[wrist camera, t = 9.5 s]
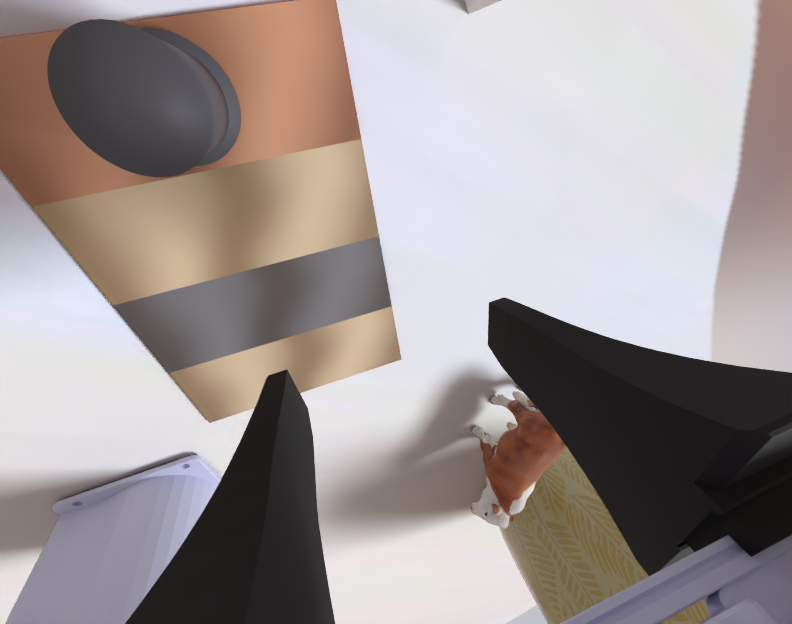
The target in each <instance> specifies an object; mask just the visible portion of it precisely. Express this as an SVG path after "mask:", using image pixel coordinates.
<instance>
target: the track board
mask: <svg viewBox="0 0 792 624" xmlns="http://www.w3.org/2000/svg"><path fill="white" fill-rule="evenodd" d="M122 23H126V24H128V25H131V26H134V27H136V28H139V29H141V28H156V29H162V30H166V31H170V32H173V33H176V34H178V35H180V36H182V37H184V38H186V39H188V40H190V41H191V42H193V43H194V44H196V45H198V46H199V47H201V48H202V49H203V50H204V51H206V52H207V53H208V54H209V55H210V56H211V57H212V58H213V59H214V60H215V61H216V62H217V63H218V64H219V65H220V67H221V68H222V69H223V70H224V72H225V73H226V75H227V76H228V78H229V80H230V81H231V83H232V85H233V87H234V90H235V92H236V94H237V98H238V101H239V105H240V110H241V127H240V132H239V135H238V138H237V140H236V142H235V144H234V146H233V147H232V148H231V150H230V151H229V152H228V153H227V154H226V155H225V156H224V157H222V158H221V159H219V160H218V161H216V162H213V163H211V164H208V165H203V166H195V167H193V168H192V169H190V170H189V171H187V172H184V173H182V174H179V175H176V176H170V177H149V176H143V175H139V174H135V173H132V172H129V171H126V170H124V169H121V168H119V167H117V166H115V165H113V164H111V163H110V162H108V161H106V160H105V159H103V158H102V157H100V156H99V155H97V154H96V153H95V152H93V151H92V150H91V149H90V148H88V147H87V146H86V145H85V144H84V143H83V142H82V141H81V140H80V139H79V138H78V137H77V136H76V135H75V133H74V132H73V131H72V130H71V129H70V127H69V126H68V125H67V123H66V122H65V120H64V119H63V117H62V115H61V114H60V112H59V110H58V108H57V106H56V104H55V102H54V100H53V97H52V94H51V91H50V87H49V82H48V74H47V64H48V57H49V53H50V51H51V48H52V45H53V44H54V42H55V40H56V39H57V38H58V36H59V35H60V34H61V33H62V32H63V31H65V30H66V29H64V30H56V31H48V32H40V33H32V34H24V35H17V36H9V37H1V38H0V169H1V170H2V171H3V173H4V174H5V175H6V176H7V177H8V179H9V180H10V181H11V182H12V183H13V185H14V186H15V187H16V188H17V190H18V191H19V192H20V193H21V194H22V196H23V197H24V198H25V199H26V200H27V202H28V203H29V204H30V205H31V207H32V208H33V209H34V210H35V211H36V213H37V214H38V215H39V216H40V217H41V219H42V220H43V221H44V222H45V224H46V225H47V226H48V227H49V228H50V230H51V231H52V232H53V233H54V234H55V236H56V237H57V238H58V239H59V241H60V242H61V243H62V244H63V245H64V247H65V248H66V249H67V250H68V251H69V253H70V254H71V255H72V256H73V258H74V259H75V260H76V261H77V262H78V264H79V265H80V266H81V267H82V268H83V270H84V271H85V272H86V273H87V275H88V276H89V277H90V278H91V279H92V281H93V282H94V283H95V284H96V285H97V287H98V288H99V289H100V290H101V292H102V293H103V294H104V295H105V296H106V298H107V299H108V300H109V301H110V302H111V304H112V305H113V306H114V307H115V309H116V310H117V311H118V312H119V313H120V315H121V316H122V317H123V318H124V319H125V321H126V322H127V323H128V324H129V326H130V327H131V328H132V329H133V330H134V332H135V333H136V334H137V335H138V336H139V338H140V339H141V340H142V341H143V343H144V344H145V345H146V346H147V347H148V349H149V350H150V351H151V352H152V353H153V355H154V356H155V357H156V358H157V360H158V361H159V362H160V363H161V364H162V366H163V367H164V368H165V369H166V370H167V372H168V373H169V374H170V375H171V376H172V378H173V379H174V380H175V381H176V383H177V384H178V385H179V386H180V387H181V389H182V390H183V391H184V392H185V393H186V395H187V396H188V397H189V398H190V400H191V401H192V402H193V403H194V404H195V406H196V407H197V408H198V409H199V410H200V412H201V413H202V414H203V415H204V417H205V418H206V419H207V420H208V421H209V423H211V422H214V421H217V420H220V419H223V418H226V417H229V416H232V415H235V414H238V413H241V412H244V411H247V410H250V409H253V408H255V406H256V404H257V401H258V399H259V396H260V394H261V391H262V388H263V386H264V383H265V380H266V378H267V377H268V375H271V374H274V373H277V372H280V371H283V370H286V369H287V370H288V372H289V374H290V376H291V377H292V379H293V381H294V383H295V385H296V387H297V389H298V391H299V393H301V392H304V391H307V390H310V389H313V388H316V387H319V386H322V385H325V384H328V383H331V382H334V381H337V380H340V379H343V378H346V377H349V376H352V375H355V374H358V373H361V372H364V371H367V370H370V369H374V368H377V367H380V366H383V365H386V364H389V363H392V362H395V361H398V360H401V355H400V350H399V344H398V339H397V333H396V328H395V322H394V317H393V311H392V306H391V300H390V295H389V289H388V284H387V278H386V273H385V267H384V262H383V256H382V251H381V245H380V240H379V234H378V229H377V223H376V218H375V212H374V207H373V201H372V196H371V190H370V185H369V179H368V174H367V168H366V163H365V157H364V152H363V146H362V141H361V135H360V130H359V124H358V119H357V113H356V108H355V102H354V97H353V91H352V86H351V80H350V75H349V69H348V64H347V58H346V53H345V47H344V42H343V36H342V31H341V25H340V20H339V14H338V9H337V3H336V0H294V1H286V2H279V3H271V4H263V5H255V6H247V7H239V8H231V9H223V10H215V11H207V12H199V13H191V14H183V15H175V16H167V17H159V18H152V19H144V20H136V21H128V22H122Z"/></svg>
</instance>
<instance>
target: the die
mask: <svg viewBox="0 0 792 624" xmlns="http://www.w3.org/2000/svg"><path fill="white" fill-rule="evenodd" d="M498 1H501V0H465V4H466V8H467V11H468V14H470V13H472V12H475V11H477V10H479V9H482V8H484V7H487V6H489V5H491V4H494V3H496V2H498Z"/></svg>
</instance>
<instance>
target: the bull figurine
mask: <svg viewBox="0 0 792 624" xmlns="http://www.w3.org/2000/svg"><path fill="white" fill-rule="evenodd" d="M518 389H519V390H520V391H522V390H521V389H520V387H518ZM522 392H523V391H522ZM512 394H513V396H514V398H515V399H516V400H510V399H507V398H505V397H504V395H500V394H498V395H497V397H496V396H493V397H491V399H490V403H491V404H495V405H502V406H504V407H506V408H507V409H509V410H510V411H511V412H512V413H513V415H514V416H515V418H516V421H517V423H518V425H515V424H512V423H510V422H508V423H507V427H508V431H506V432H505V433H504V434H503V435H502V436H501V438H500V440H499V442H498V443H496V442H494V441H493V438H492V435H489V434H487V435H484V429H483V428H482V427H481V428H480V427H479V426H478V427H473V428H472V429H471V430H470V431H471V432H472V433H474V434H476V435H477V436H478V437H479V438H480V446H481V449H482V451H483V460H484V463H485V469H486V474H487V475H486V482H487V486H486V488H485V489H484V490H483V491H482V495H481V498H480V500H479V501H478V502H473V503H472V504H471V509H472V513H474V514H475V515H478V516H479V517H481V518H482V519H484V520H486V521H487V522H488V523H491V524H493V525H497V526H499V527H501V528H504V529H505V528H507V527H508V525H509V522H513V521H514V518H513V516H512V515H513V514H517V513H519V512H521V511H522V510H523V508H524V506H525V504H526V500H527V498H528V497H529V495H530V494H531V493H532V492H533V490H534V488H535V485H536V483H537V481H538V479H539V478H540V476H541V475H542V474H543V472H544V471H545V470H546V469H547V468H548V467H549V466H550V465H551V464H552V463H553V462H554V461H555V460H556V459H557V458H558V457H559V456H560V455H561V453H562V452H563V451H564V450H565V449H566V448H567V447H566V445H565V444H564V442H563V441H562V440H561V438H560V437H559V435H558V434H557V432H556V431H555V430H554V428H553V427H552V425H551V424H550V423H549V422H548V420H547V419H546V418H545V417H544V415H543V414H542V413H541V412H540V411H539V409H538V408H537V407H536V406H535V405H534V404H533V403H532V401H531V400H530V399H529V398H528V397H526V396H525V395H523V394H522V393H520V392H516V391H514V392H513V393H512ZM532 407H534V408H535V409H536V410H535V409H534V408H532ZM491 447H492V449H491Z"/></svg>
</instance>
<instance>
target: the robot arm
mask: <svg viewBox="0 0 792 624" xmlns="http://www.w3.org/2000/svg"><path fill="white" fill-rule="evenodd" d="M488 346H489V347H490V349H491V350H492V352H493V354H494V355H495V357H496V358H497V360H498V361H499V363H500V364H501V366H502V367H503V369H504V370H505V371H506V372H507V373H508V375H509V376H510V377H511V378H512V379H513V380H514V382H515V383H516V384H517V385H518V386H519V387H520V389H521V390H522V391H523V392H524V393H525V394H526V396H527V397H528V398H529V399H530V400H531V401H532V403H533V404H534V405H535V406H536V407H537V408H538V409H539V411H540V412H541V413H542V414H543V415H544V417H545V418H546V419H547V420H548V422H549V423H550V424H551V425H552V427H553V428H554V430H555V431H556V432H557V434H558V435H559V437H560V438H561V440H562V441H563V442H564V444H565V445H566V447H567V448H568V449H569V451H570V452H571V454H572V455H573V457H574V458H575V460H576V461H577V463H578V464H579V466H580V467H581V469H582V470H583V472H584V473H585V475H586V476H587V478H588V480H589V481H590V483H591V484H592V486H593V488H594V489H595V491H596V492H597V494H598V496H599V497H600V499H601V500H602V502H603V504H604V505H605V507H606V508H607V510H608V512H609V514H610V515H611V517H612V519H613V520H614V522H615V524H616V526H617V527H618V529H619V531H620V532H621V534H622V536H623V537H624V539H625V541H626V543H627V544H628V546H629V548H630V550H631V552H632V554H633V555H634V557H635V559H636V560H637V562H638V563H639V564H640V565H641V567H642V568H643V569H644V571H645V572H646V573H647V574H648V576H649V577H647V578H645V579H643V580H642V581H640V582H638V583H636V584H634V585H632V586H630V587H628V588H626V589H625V590H623V591H621V592H619V593H617V594H615V595H613V596H611V597H609V598H607V599H606V600H604V601H602V602H600V603H598V604H596V605H594V606H592V607H590V608H589V609H587V610H585V611H583V612H581V613H579V614H577V615H575V616H573V617H571V618H570V619H568V620H566V621H564V622H562V623H560V624H660V623H661V622H663V621H665V620H667V619H669V618H670V617H672V616H674V615H676V614H678V613H679V612H681V611H683V610H685V609H686V608H688V607H690V606H692V605H694V604H695V603H697V602H699V601H701V600H703V599H704V598H706V597H707V599H706V606H707V609H708V611H709V616H708V618H707V619H705V620H703V621H701V622H700V623H698V624H792V373H789V372H780V371H773V370H764V369H756V368H748V367H740V366H734V365H728V364H722V363H716V362H710V361H704V360H699V359H693V358H688V357H683V356H679V355H674V354H670V353H665V352H661V351H656V350H652V349H648V348H644V347H640V346H636V345H633V344H629V343H626V342H622V341H619V340H615V339H612V338H609V337H606V336H602V335H599V334H597V333H594V332H591V331H588V330H585V329H582V328H579V327H577V326H574V325H571V324H569V323H566V322H564V321H561V320H559V319H556V318H554V317H551V316H549V315H546V314H544V313H541V312H539V311H537V310H534V309H532V308H530V307H527V306H525V305H522V304H520V303H517V302H515V301H512V300H510V299H507V298H501V299H498V300H495V301H492V302H489V324H488ZM51 511H53V512H54V513H56V514H57V515H59V516H60V517H59V519H58V521H57V523H56V525H55V527H54V529H53V531H52V532H51V534H50V536H49V538H48V540H47V542H46V544H45V546H44V548H43V550H42V552H41V554H40V556H39V558H38V560H37V562H36V564H35V566H34V568H33V570H32V572H31V574H30V575H29V577H28V579H27V581H26V583H25V585H24V587H23V589H22V591H21V593H20V595H19V597H18V599H17V601H16V603H15V605H14V607H13V609H12V611H11V613H10V615H9V617H8V619H7V621H6V624H335V620H334V615H333V609H332V604H331V598H330V593H329V587H328V580H327V574H326V568H325V562H324V556H323V550H322V543H321V536H320V530H319V523H318V513H317V500H316V482H315V464H314V447H313V435H312V429H311V423H310V418H309V413H308V408H307V406H306V404H305V402H304V400H303V399H302V397H301V395H300V393H299V391H298V389H297V387H296V385H295V383H294V381H293V379H292V377H291V376H290V374H289V372H288V370H287V369H286V370H283V371H280V372H277V373H274V374H271V375H268V377H267V378H266V380H265V383H264V386H263V388H262V391H261V394H260V396H259V399H258V401H257V404H256V406H255V409H254V411H253V414H252V416H251V418H250V421H249V423H248V425H247V428H246V430H245V432H244V434H243V437H242V439H241V441H240V443H239V445H238V447H237V449H236V451H235V453H234V455H233V457H232V459H231V461H230V463H229V466H228V468H227V470H226V471H225V473H224V475H223V477H222V478H221V477H220V476H219V475H218V474H217V473H216V472H215V471H214V470H213V469H212V468H211V467H210V466H209V465H208V464H207V463H206V462H205V461H204V460H203V459H202V457H200V456H199V455H191V456H188V457H185V458H182V459H179V460H176V461H173V462H171V463H168V464H165V465H162V466H159V467H156V468H153V469H150V470H147V471H144V472H142V473H139V474H136V475H133V476H130V477H127V478H124V479H121V480H118V481H115V482H112V483H110V484H107V485H104V486H101V487H98V488H95V489H92V490H89V491H86V492H83V493H81V494H78V495H75V496H72V497H69V498H66V499H63V500H60V501H58V502H56V503H55V504H54V505H53V507H52V509H51Z"/></svg>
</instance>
